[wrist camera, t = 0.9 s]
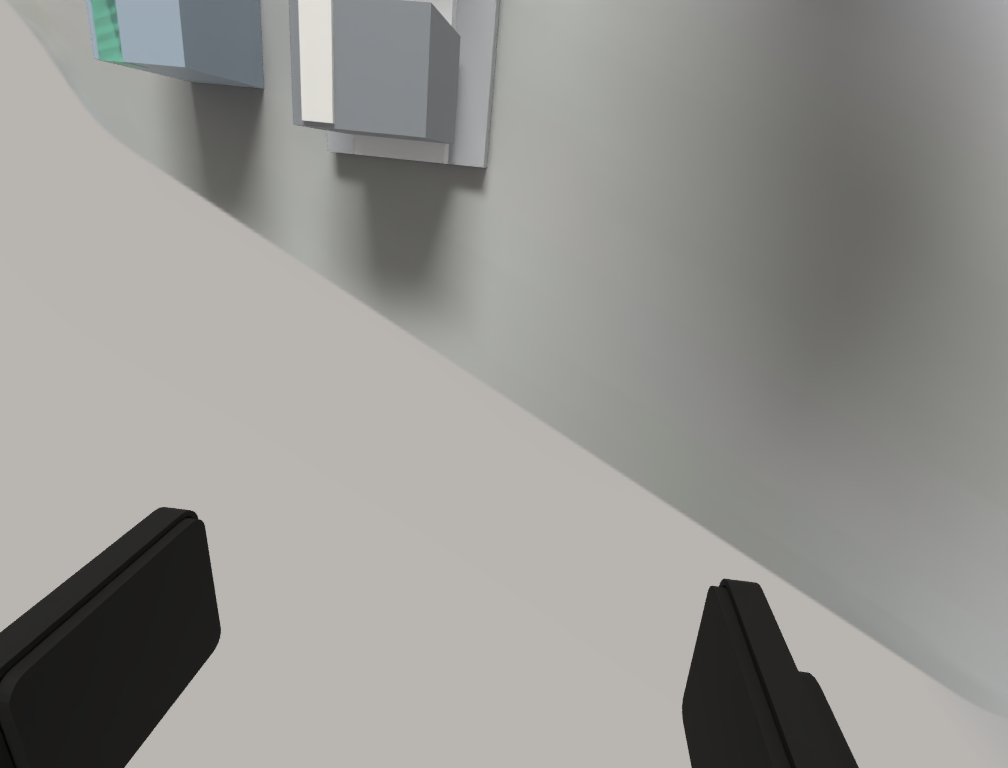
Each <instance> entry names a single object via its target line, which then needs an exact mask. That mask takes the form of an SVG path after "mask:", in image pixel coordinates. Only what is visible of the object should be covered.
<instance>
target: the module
mask: <svg viewBox="0 0 1008 768" xmlns="http://www.w3.org/2000/svg"><path fill="white" fill-rule="evenodd" d="M86 6H87V13H88V19H89V26H90V33H91V40H92V47H93V53H94V59H97V60H101V61H105V62H109V63H114V64H118V65H122V66H126V67H131V68H135V69H139V70H143V71H147V72H152V73H156V74H160V75H164V76H169V77H173V78H177V79H181V80H185V81H190V82H199V83H210V84H220V85H231V86H241V87H252V88H262V89H264V74H263V54H262V35H261V16H260V0H86Z"/></svg>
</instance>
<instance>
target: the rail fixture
mask: <svg viewBox="0 0 1008 768" xmlns="http://www.w3.org/2000/svg"><path fill="white" fill-rule="evenodd" d="M499 7H500V0H289V19H290V47H291V75H292V103H293V125H299V126H305V127H311V128H316V129H322V130H327V151H328V152H338V153H347V154H356V155H366V156H375V157H385V158H395V159H404V160H414V161H424V162H433V163H443V164H454V165H463V166H473V167H483V168H487V159H488V146H489V133H490V121H491V108H492V96H493V83H494V70H495V58H496V45H497V32H498V20H499Z"/></svg>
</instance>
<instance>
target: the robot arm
mask: <svg viewBox="0 0 1008 768" xmlns="http://www.w3.org/2000/svg"><path fill="white" fill-rule="evenodd" d="M220 634H221V627H220V621H219V614H218V608H217V602H216V595H215V589H214V582H213V576H212V569H211V563H210V556H209V550H208V543H207V537H206V530H205V525H204V523H203V522H202V520H199V519H198V516H197V515H196V513H195V512H193V511H191V510H182V509H175V508H167V507H162V508H159V509H157V510H155V511H154V512H152V513H151V514H150V515H149V516H147V517H146V518H145V519H144V520H142V521H141V522H140V523H138V524H137V525H136V526H135V527H133V528H132V529H131V530H130V531H128V532H127V533H126V534H125V535H123V536H122V537H121V538H119V539H118V540H117V541H116V542H114V543H113V544H112V545H111V546H109V547H108V548H107V549H106V550H105V551H103V552H102V553H101V554H99V555H98V556H97V557H95V558H94V559H93V560H92V561H90V562H89V563H88V564H87V565H85V566H84V567H83V568H81V569H80V570H79V571H78V572H76V573H75V574H74V575H73V576H71V577H70V578H69V579H68V580H66V581H65V582H64V583H62V584H61V585H60V586H59V587H57V588H56V589H55V590H54V591H52V592H51V593H50V594H49V595H47V596H46V597H45V598H43V599H42V600H41V601H40V602H38V603H37V604H36V605H35V606H33V607H32V608H31V609H30V610H28V611H27V612H26V613H24V614H23V615H22V616H21V617H19V618H18V619H17V620H16V621H14V622H13V623H12V624H11V625H9V626H8V627H7V628H6V629H4V630H3V631H2V632H0V768H124V767H125V766H126V764H127V763H128V762H129V761H130V759H131V758H132V757H133V755H134V754H135V753H136V751H137V750H138V749H139V748H140V746H141V745H142V744H143V742H144V741H145V740H146V738H147V737H148V736H149V735H150V733H151V732H152V731H153V729H154V728H155V727H156V725H157V724H158V723H159V722H160V720H161V719H162V718H163V716H164V715H165V714H166V713H167V711H168V710H169V708H170V707H171V706H172V704H173V703H174V702H175V701H176V700H177V698H178V697H179V696H180V694H181V693H182V692H183V690H184V689H185V688H186V687H187V685H188V683H190V681H191V680H192V679H193V677H194V676H195V675H196V673H197V672H198V671H199V670H200V668H201V667H202V666H203V664H204V663H205V662H206V660H207V659H208V658H209V657H210V655H211V654H212V653H213V651H214V650H215V648H216V646H217V644H218V642H219V639H220ZM682 715H683V724H684V728H685V734H686V740H687V745H688V750H689V755H690V761H691V766H692V768H859V767H858V765H857V763H856V761H855V759H854V757H853V755H852V753H851V750H850V748H849V746H848V744H847V742H846V740H845V738H844V736H843V734H842V731H841V729H840V727H839V725H838V723H837V721H836V719H835V717H834V714H833V712H832V710H831V708H830V706H829V704H828V702H827V700H826V697H825V696H824V693H823V691H822V689H821V687H820V685H819V684H818V682H817V680H816V679H815V677H813V676H812V675H811V674H810V673H807V672H799V671H798V670H797V667H796V665H795V663H794V660H793V658H792V656H791V654H790V652H789V649H788V647H787V645H786V642H785V640H784V638H783V636H782V633H781V631H780V629H779V627H778V624H777V622H776V620H775V617H774V615H773V613H772V611H771V609H770V606H769V604H768V602H767V599H766V597H765V595H764V593H763V590H762V588H761V587H760V585H759V584H758V583H753V582H746V581H738V580H730V579H723V580H722V581H721V583H720V585H719V587H716V586H710V588H709V590H708V593H707V598H706V602H705V606H704V611H703V615H702V619H701V624H700V628H699V632H698V636H697V641H696V645H695V649H694V654H693V658H692V662H691V667H690V671H689V675H688V680H687V684H686V688H685V692H684V697H683V704H682Z"/></svg>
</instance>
